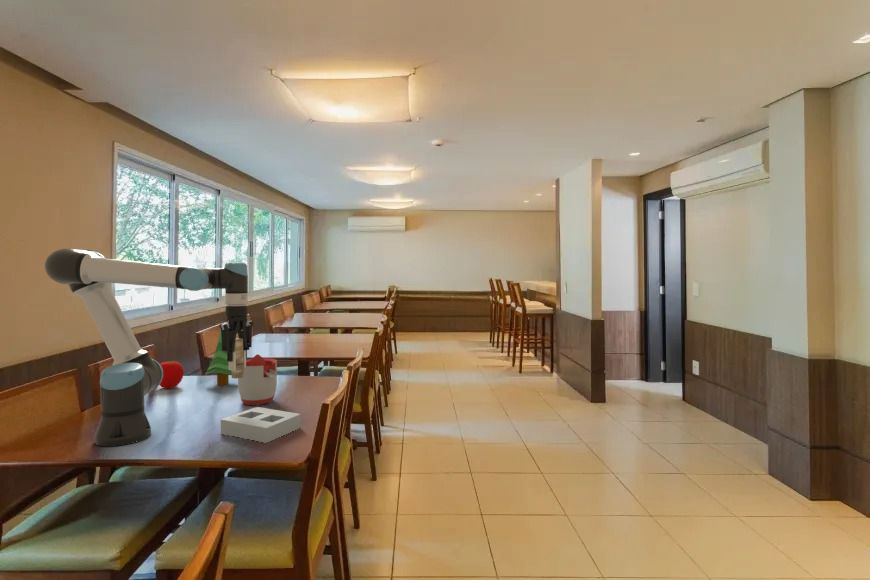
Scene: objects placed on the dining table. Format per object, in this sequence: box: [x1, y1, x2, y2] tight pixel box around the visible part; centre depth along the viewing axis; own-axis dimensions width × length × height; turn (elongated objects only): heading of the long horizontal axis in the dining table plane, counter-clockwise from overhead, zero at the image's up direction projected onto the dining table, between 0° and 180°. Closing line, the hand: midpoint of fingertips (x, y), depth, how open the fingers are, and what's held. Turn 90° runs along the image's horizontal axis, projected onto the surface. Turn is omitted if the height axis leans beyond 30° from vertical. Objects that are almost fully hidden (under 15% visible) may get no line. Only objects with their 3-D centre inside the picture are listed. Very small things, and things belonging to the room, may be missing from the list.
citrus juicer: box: [237, 354, 278, 406], centre depth 191 cm, size 16×17×20 cm
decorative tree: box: [204, 322, 232, 387], centre depth 220 cm, size 14×16×30 cm
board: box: [220, 406, 302, 444], centre depth 157 cm, size 16×20×5 cm
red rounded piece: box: [158, 360, 184, 390], centre depth 214 cm, size 11×11×13 cm
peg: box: [231, 337, 243, 379], centre depth 168 cm, size 4×4×14 cm
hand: (237, 368), depth 168 cm, fingers closed on peg, 4 cm apart
